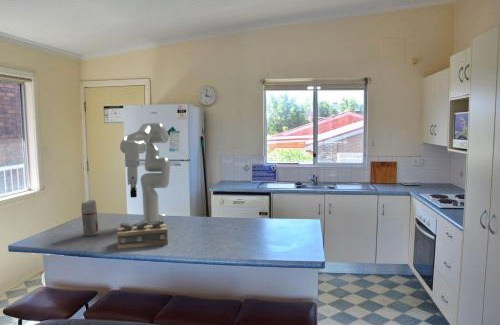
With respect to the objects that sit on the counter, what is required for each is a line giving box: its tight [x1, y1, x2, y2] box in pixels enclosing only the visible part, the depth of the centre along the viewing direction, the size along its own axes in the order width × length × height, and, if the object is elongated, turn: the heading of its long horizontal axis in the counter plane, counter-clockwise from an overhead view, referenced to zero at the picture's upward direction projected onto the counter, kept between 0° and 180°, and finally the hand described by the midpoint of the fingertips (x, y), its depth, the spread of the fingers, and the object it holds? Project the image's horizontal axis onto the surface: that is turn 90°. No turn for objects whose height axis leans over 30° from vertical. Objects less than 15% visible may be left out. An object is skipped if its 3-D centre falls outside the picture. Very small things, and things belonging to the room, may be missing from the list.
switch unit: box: [116, 222, 169, 250], centre depth 211 cm, size 12×25×11 cm, turn 106°
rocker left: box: [119, 222, 134, 229], centre depth 209 cm, size 4×6×2 cm
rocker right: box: [151, 218, 165, 227], centre depth 213 cm, size 4×6×2 cm
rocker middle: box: [135, 221, 149, 229], centre depth 211 cm, size 4×6×2 cm
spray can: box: [80, 199, 99, 237], centre depth 228 cm, size 8×8×20 cm
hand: (133, 195), depth 219 cm, fingers open, 6 cm apart
